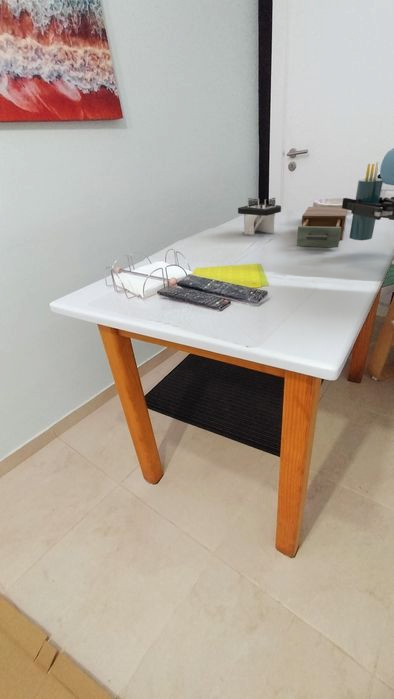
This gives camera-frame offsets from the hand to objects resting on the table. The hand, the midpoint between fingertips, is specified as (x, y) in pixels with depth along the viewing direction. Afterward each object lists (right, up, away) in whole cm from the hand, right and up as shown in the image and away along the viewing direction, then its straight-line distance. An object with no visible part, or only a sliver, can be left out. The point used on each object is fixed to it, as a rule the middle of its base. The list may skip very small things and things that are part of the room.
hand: (353, 201), depth 96 cm
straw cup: (+2, -10, +1) cm, 10 cm away
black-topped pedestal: (-21, +1, +33) cm, 39 cm away
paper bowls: (+10, +10, +41) cm, 43 cm away
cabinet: (+1, 0, +26) cm, 26 cm away
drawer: (-5, -7, +14) cm, 17 cm away
